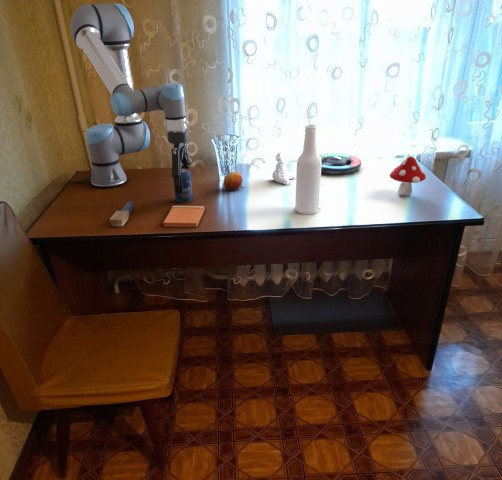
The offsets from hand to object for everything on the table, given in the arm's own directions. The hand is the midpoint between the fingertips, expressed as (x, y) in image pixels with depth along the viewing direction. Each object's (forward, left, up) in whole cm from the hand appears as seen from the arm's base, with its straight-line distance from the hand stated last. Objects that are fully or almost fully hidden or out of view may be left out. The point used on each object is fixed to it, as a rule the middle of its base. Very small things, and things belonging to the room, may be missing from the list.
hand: (183, 187), depth 189 cm
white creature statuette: (+38, +25, -5) cm, 46 cm away
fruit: (+18, +14, -6) cm, 23 cm away
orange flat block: (+4, -18, -5) cm, 19 cm away
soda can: (0, 0, -5) cm, 5 cm away
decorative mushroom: (+88, +10, -6) cm, 89 cm away
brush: (-19, -18, -5) cm, 27 cm away
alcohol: (+49, -8, -6) cm, 50 cm away
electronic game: (+62, +44, -5) cm, 76 cm away
